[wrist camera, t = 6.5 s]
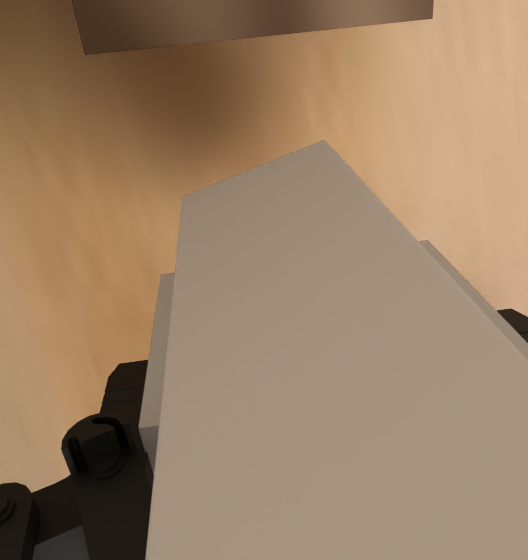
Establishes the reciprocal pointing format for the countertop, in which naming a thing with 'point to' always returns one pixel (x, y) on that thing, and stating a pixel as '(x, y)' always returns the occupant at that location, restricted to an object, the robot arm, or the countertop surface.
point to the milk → (330, 385)
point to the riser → (226, 19)
